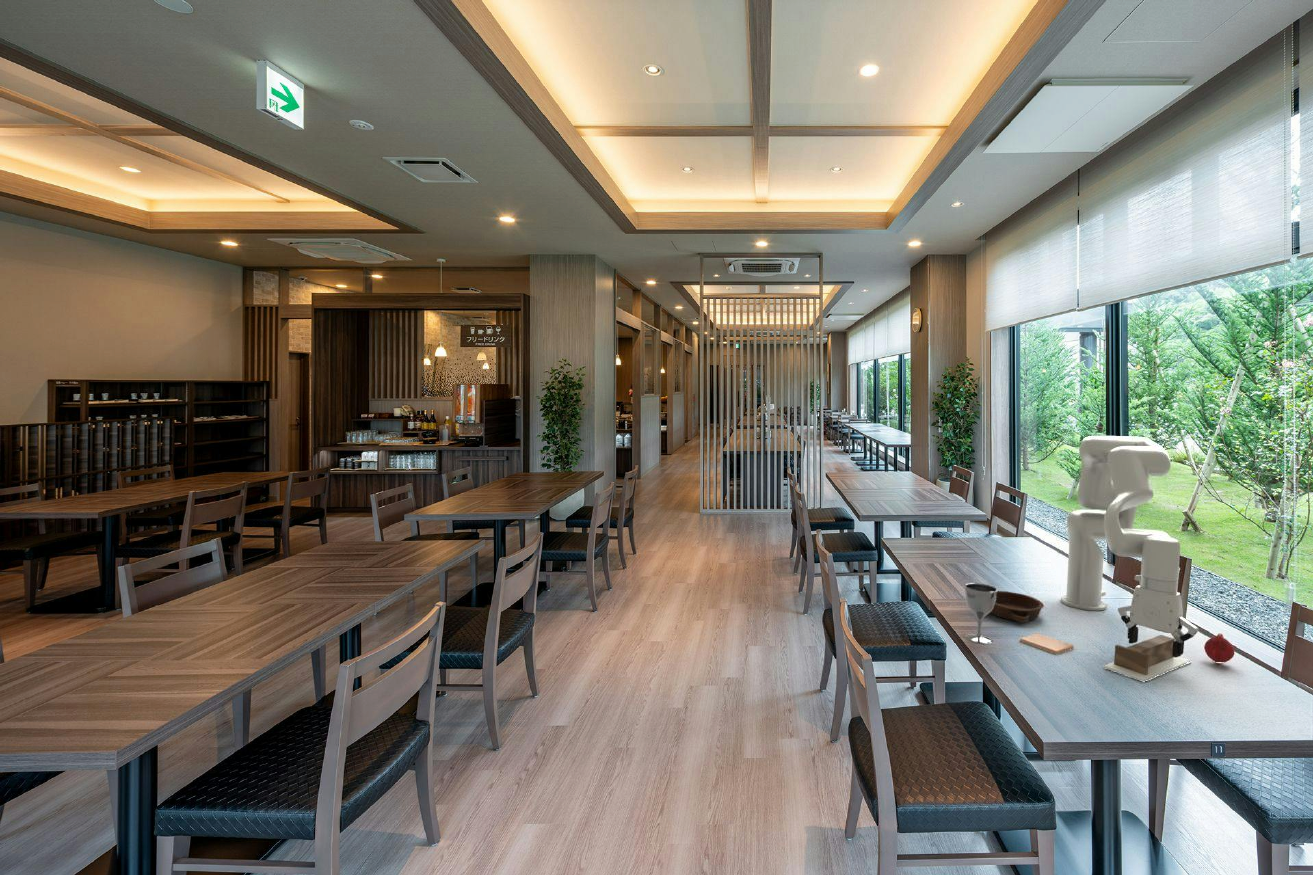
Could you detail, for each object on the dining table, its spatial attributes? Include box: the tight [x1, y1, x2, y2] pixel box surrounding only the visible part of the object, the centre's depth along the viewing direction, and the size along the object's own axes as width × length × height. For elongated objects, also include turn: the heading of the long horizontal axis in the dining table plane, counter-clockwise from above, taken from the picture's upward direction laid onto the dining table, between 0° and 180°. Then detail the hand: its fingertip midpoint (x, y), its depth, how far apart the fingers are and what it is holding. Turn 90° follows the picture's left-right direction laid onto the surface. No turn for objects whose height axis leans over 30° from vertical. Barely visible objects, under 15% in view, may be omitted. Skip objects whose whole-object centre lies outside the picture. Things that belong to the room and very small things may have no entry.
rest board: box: [1102, 656, 1192, 681], centre depth 162 cm, size 24×9×1 cm, turn 119°
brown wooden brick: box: [1113, 634, 1175, 675], centre depth 162 cm, size 19×7×5 cm, turn 119°
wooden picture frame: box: [1019, 633, 1075, 655], centre depth 175 cm, size 1×10×8 cm
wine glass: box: [964, 582, 998, 645], centre depth 178 cm, size 8×8×15 cm
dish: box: [989, 590, 1045, 623], centre depth 200 cm, size 18×22×5 cm
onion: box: [1203, 632, 1235, 663], centre depth 163 cm, size 6×6×8 cm
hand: (1154, 649), depth 163 cm, fingers open, 9 cm apart
